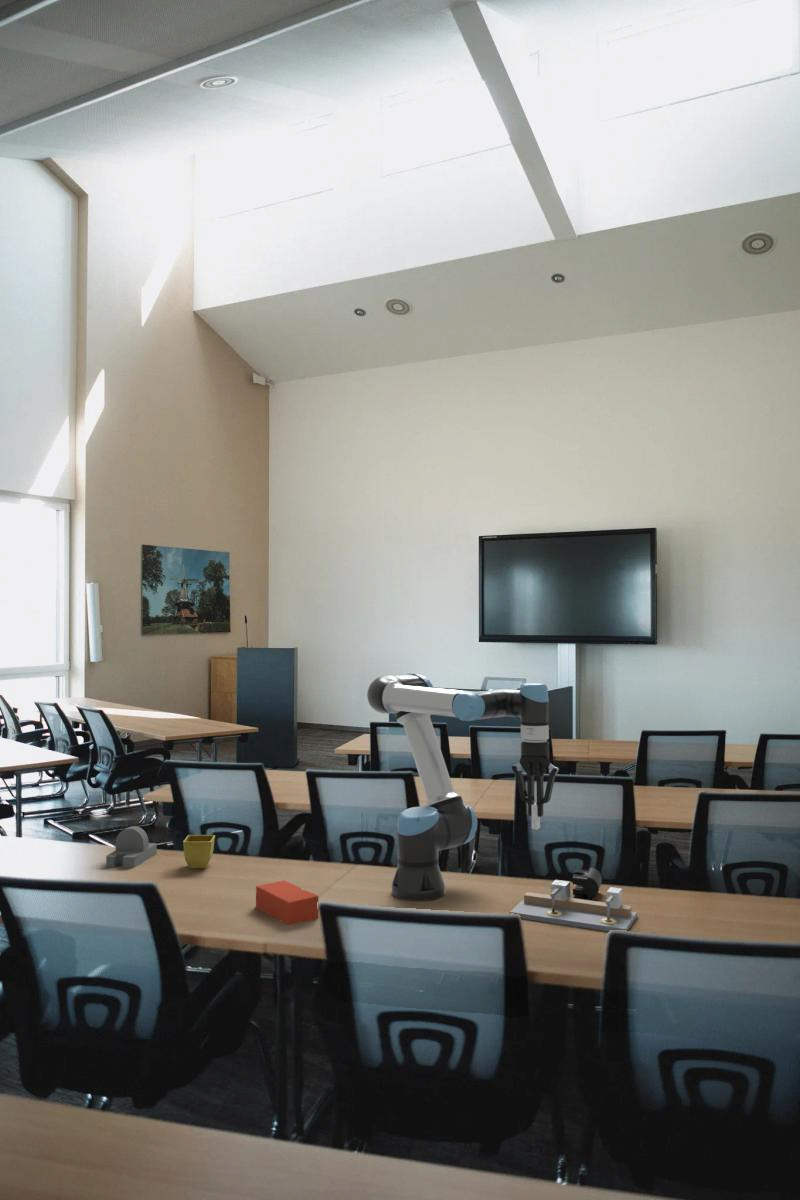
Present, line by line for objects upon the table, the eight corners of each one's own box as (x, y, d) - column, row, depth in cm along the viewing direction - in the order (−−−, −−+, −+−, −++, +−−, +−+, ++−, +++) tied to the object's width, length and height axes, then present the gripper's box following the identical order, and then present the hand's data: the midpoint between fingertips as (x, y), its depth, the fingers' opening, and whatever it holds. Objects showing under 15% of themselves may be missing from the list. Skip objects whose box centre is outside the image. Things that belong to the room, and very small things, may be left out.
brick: (255, 908, 238) (255, 885, 238) (284, 901, 244) (284, 880, 244) (288, 926, 224) (288, 902, 224) (319, 919, 229) (319, 895, 230)
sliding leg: (544, 911, 228) (544, 890, 228) (555, 900, 237) (555, 879, 238) (559, 914, 226) (559, 892, 227) (570, 902, 236) (570, 881, 236)
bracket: (157, 854, 295) (157, 821, 295) (133, 869, 277) (133, 834, 277) (130, 853, 296) (130, 820, 296) (104, 867, 278) (104, 833, 279)
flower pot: (215, 862, 283) (215, 834, 283) (211, 870, 274) (211, 841, 274) (187, 863, 282) (187, 835, 283) (182, 870, 274) (182, 841, 274)
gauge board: (509, 916, 230) (509, 888, 230) (526, 901, 242) (526, 874, 243) (625, 933, 217) (625, 904, 217) (637, 916, 229) (636, 888, 229)
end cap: (598, 902, 241) (598, 877, 241) (572, 900, 243) (572, 875, 243) (602, 892, 251) (601, 868, 251) (576, 889, 253) (576, 866, 253)
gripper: (507, 741, 238) (508, 829, 237) (554, 743, 232) (555, 833, 231) (516, 737, 244) (517, 823, 244) (562, 740, 239) (563, 827, 238)
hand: (536, 828), depth 237 cm, fingers closed
